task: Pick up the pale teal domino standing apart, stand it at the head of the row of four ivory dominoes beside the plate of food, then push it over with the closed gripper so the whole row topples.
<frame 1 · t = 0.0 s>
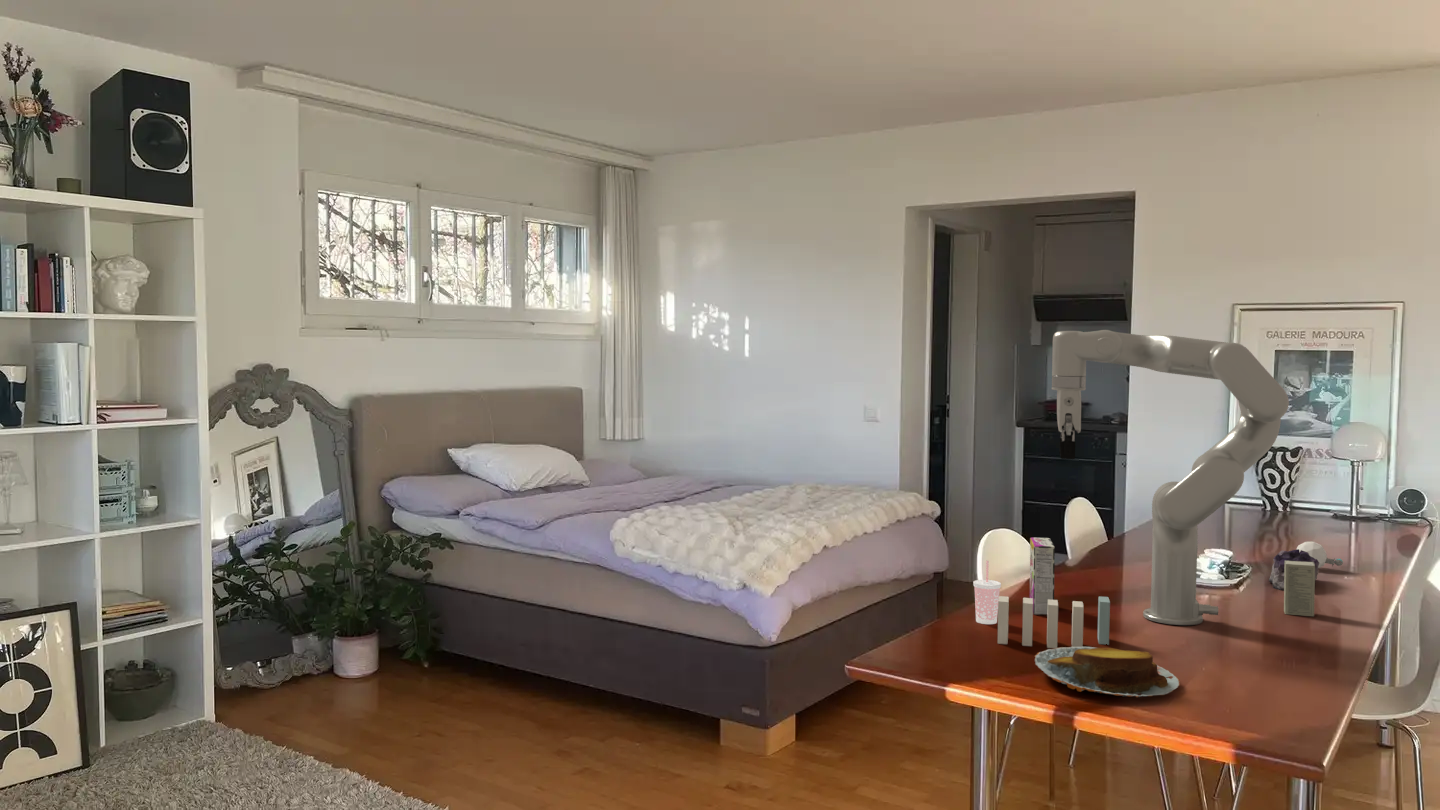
hand: (1067, 456, 248), 37 cm above the table, fingers open, 9 cm apart
domino 1: (1077, 646, 221), on the table
candy bar box: (1041, 610, 252), on the table
domino 3: (1027, 642, 224), on the table
skincare box: (1298, 614, 249), on the table
food on plate: (1104, 683, 199), on the table
domino 2: (1051, 644, 223), on the table
geode: (1292, 585, 280), on the table
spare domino: (1103, 641, 225), on the table
perfume bottle: (1317, 570, 298), on the table
domino 4: (1002, 640, 226), on the table
beverage cup: (986, 622, 241), on the table
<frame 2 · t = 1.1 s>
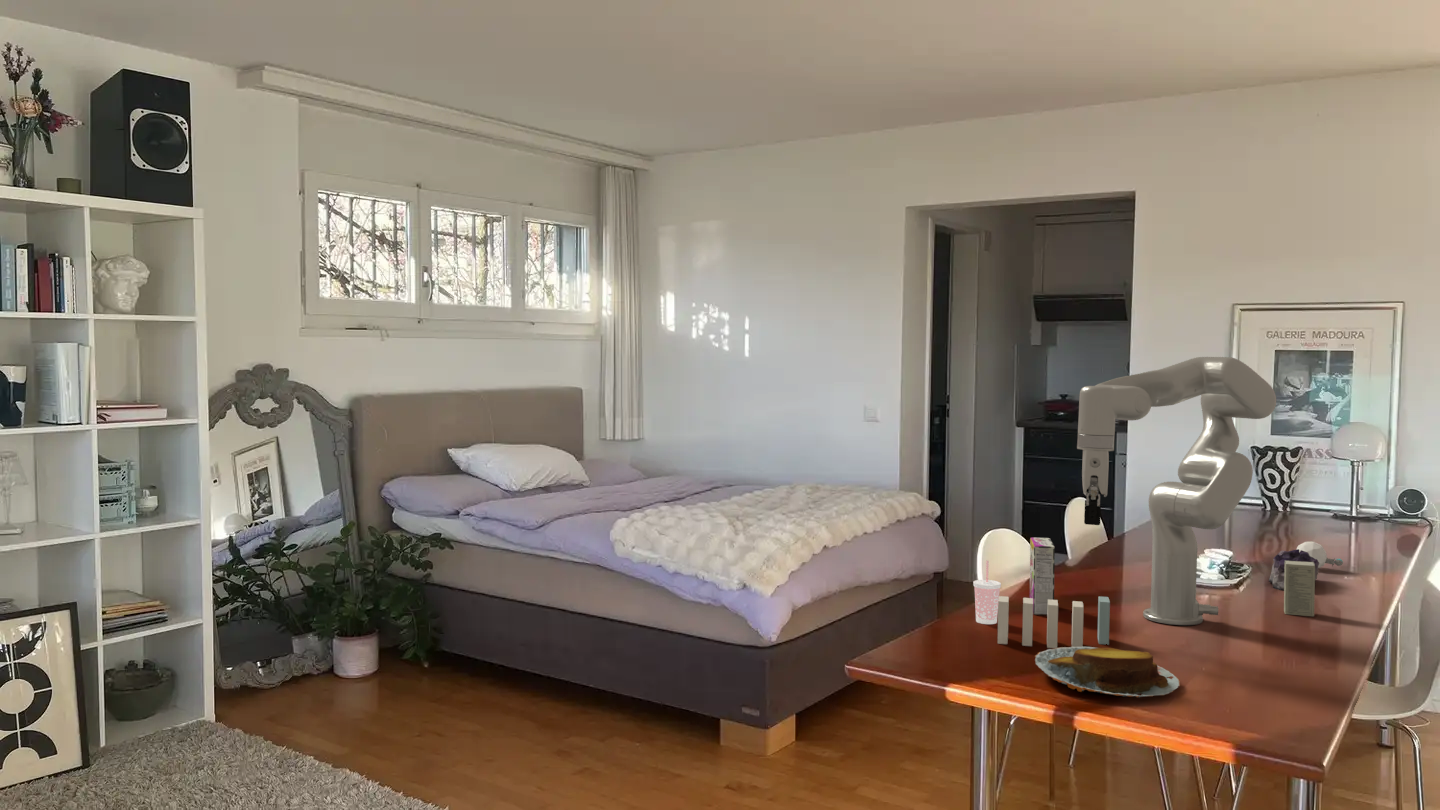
hand: (1091, 521, 230), 25 cm above the table, fingers open, 9 cm apart
nothing on the table moved.
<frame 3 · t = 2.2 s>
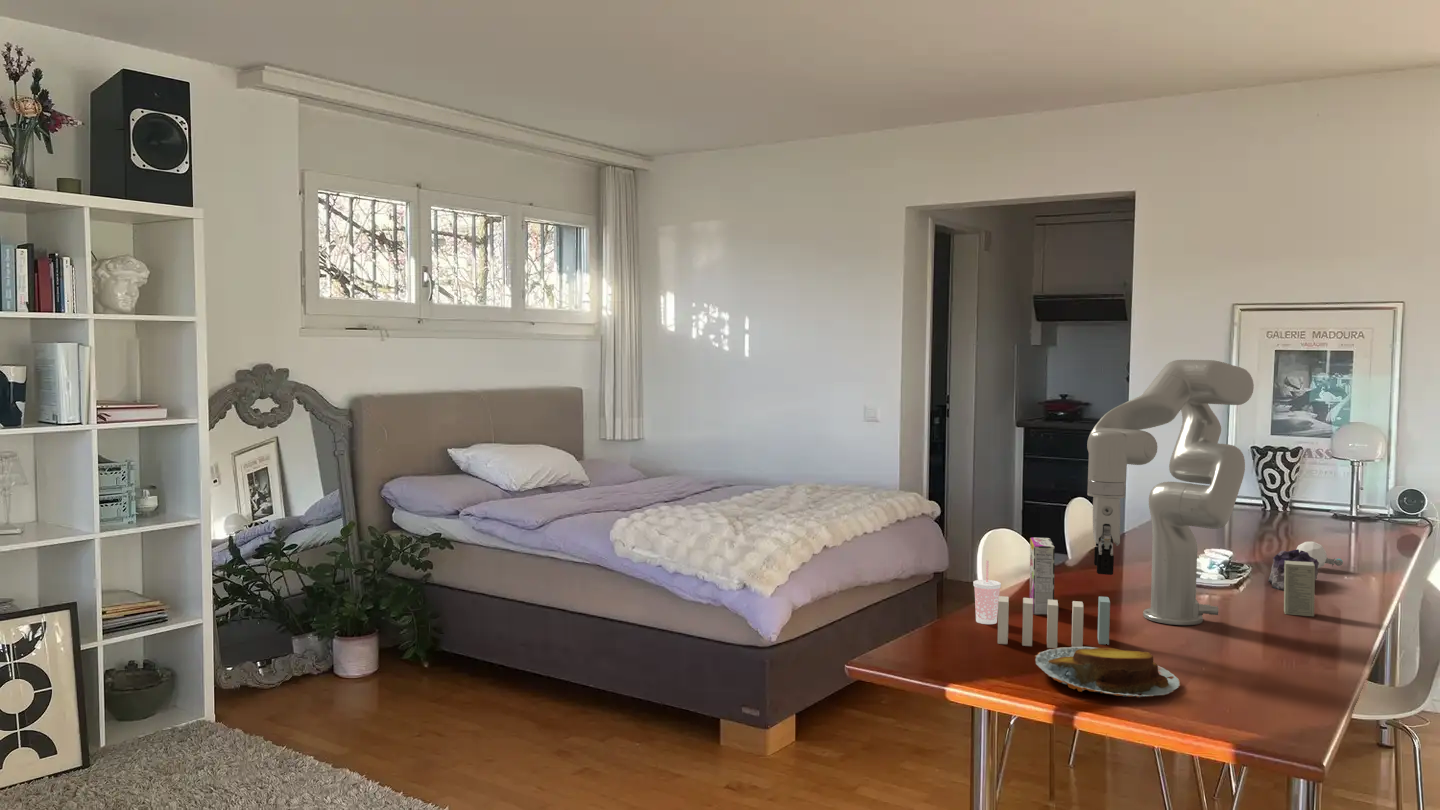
hand: (1103, 569, 224), 15 cm above the table, fingers open, 9 cm apart
nothing on the table moved.
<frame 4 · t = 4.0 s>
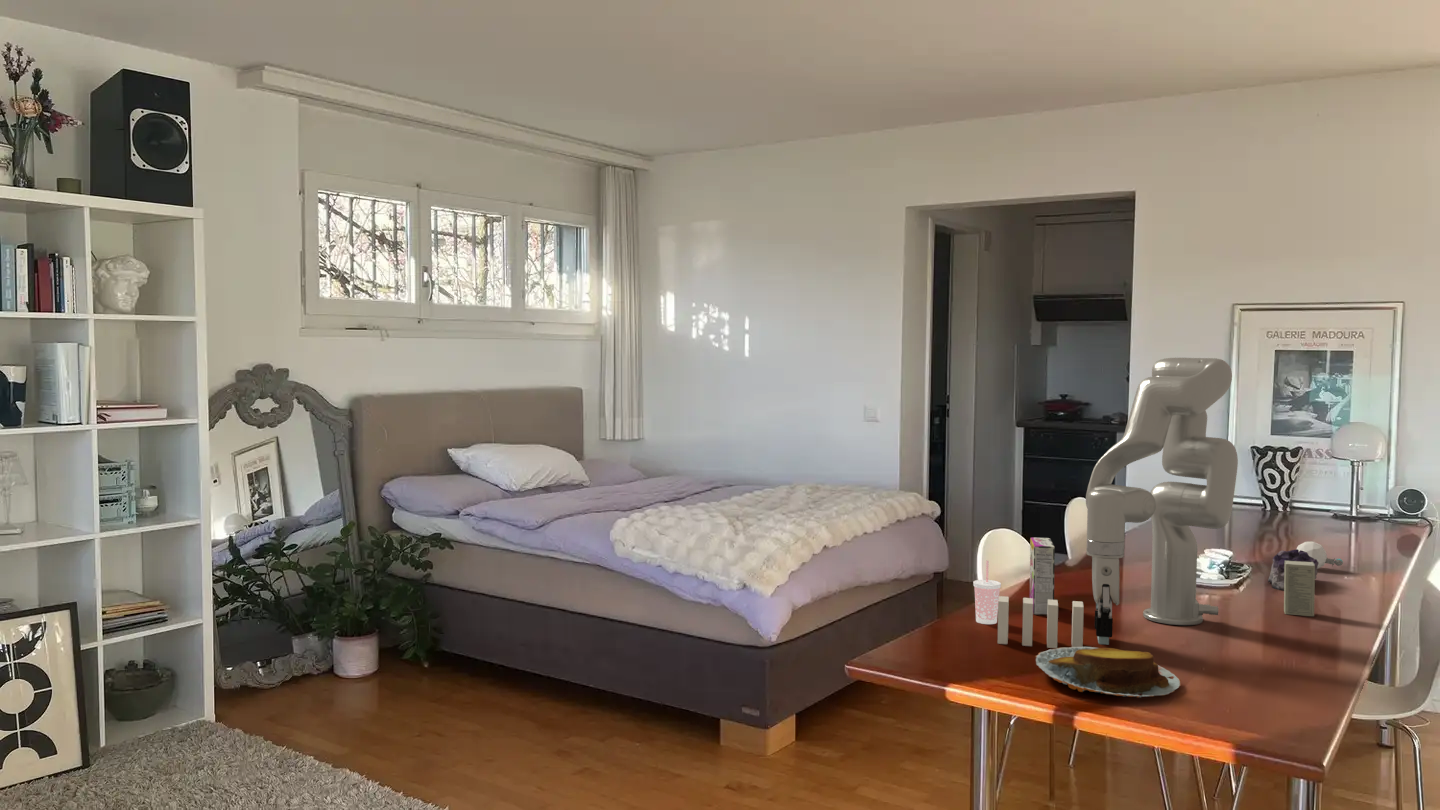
hand: (1103, 632, 225), 2 cm above the table, fingers closed on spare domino, 4 cm apart
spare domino: (1103, 641, 225), on the table, touching gripper
everything else where it was.
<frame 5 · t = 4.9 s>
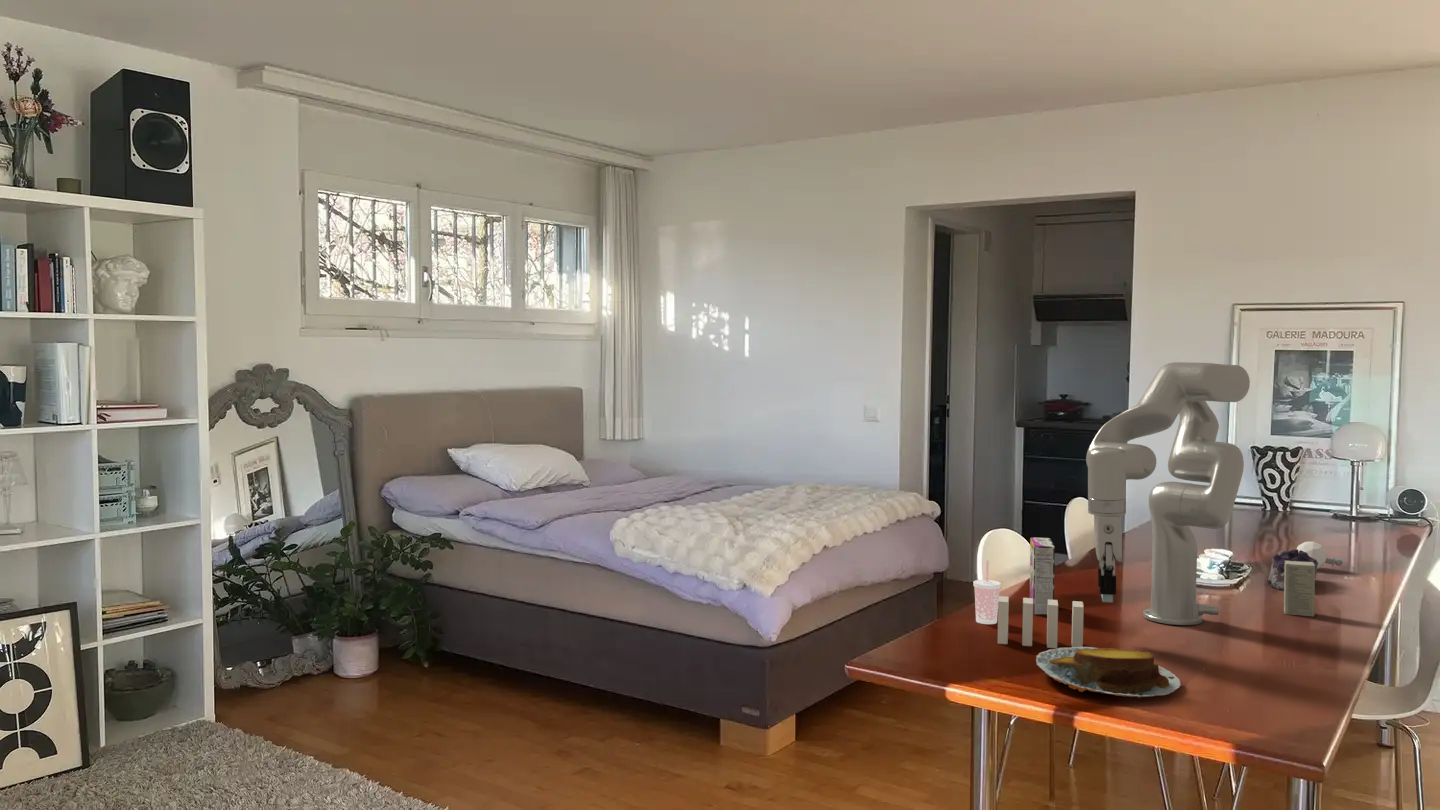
hand: (1107, 589, 226), 11 cm above the table, fingers closed on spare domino, 4 cm apart
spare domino: (1107, 598, 226), point 9 cm above the table, touching gripper
everything else where it was.
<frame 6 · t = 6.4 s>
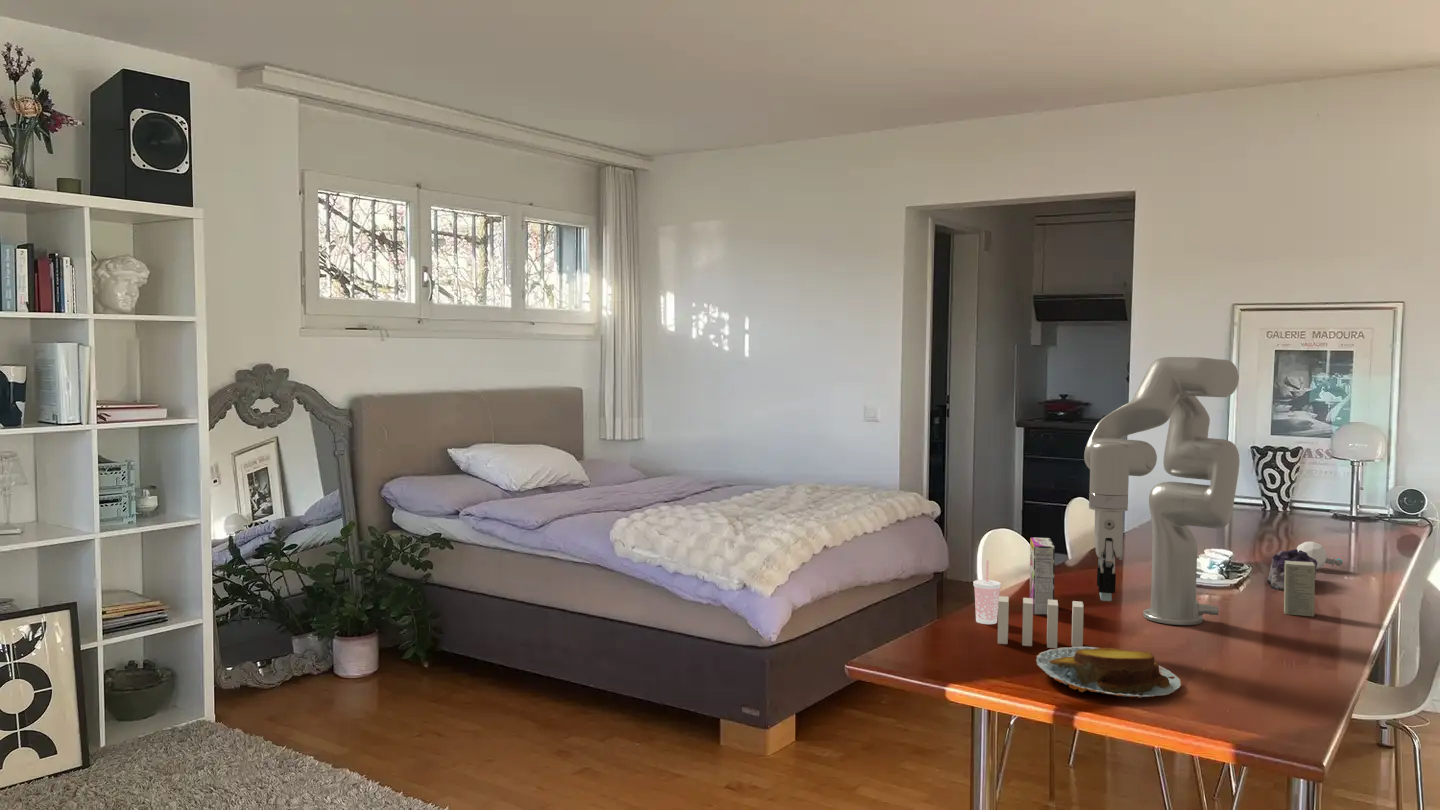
hand: (1105, 588, 219), 13 cm above the table, fingers closed on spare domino, 4 cm apart
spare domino: (1105, 598, 219), point 11 cm above the table, touching gripper
everything else where it was.
when the fingers open (3 cm above the table, at t = 8.4 s): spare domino stays where it is, on the table.
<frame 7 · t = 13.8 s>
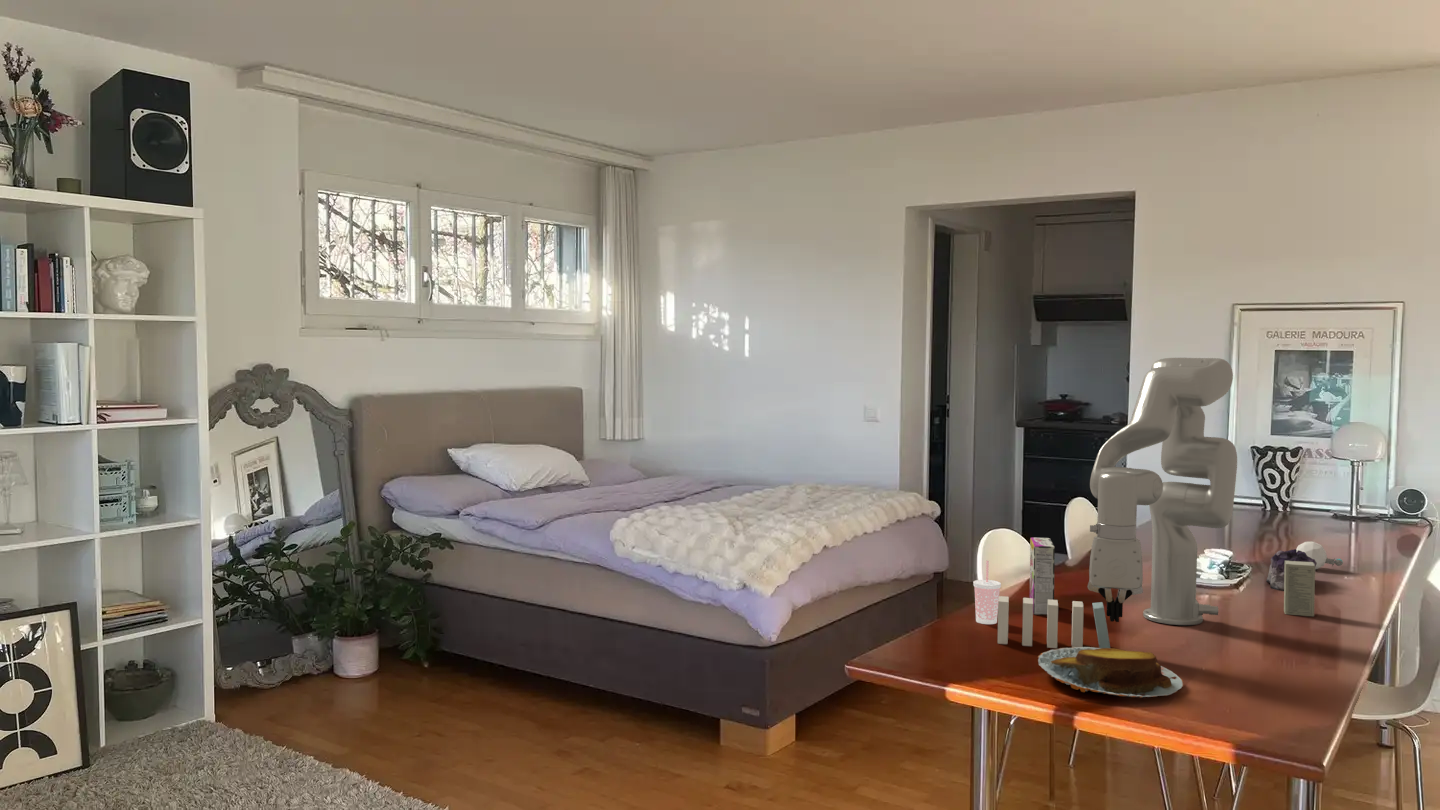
hand: (1114, 620, 219), 6 cm above the table, fingers closed
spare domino: (1104, 648, 220), on the table, tilted 10°
everything else where it was.
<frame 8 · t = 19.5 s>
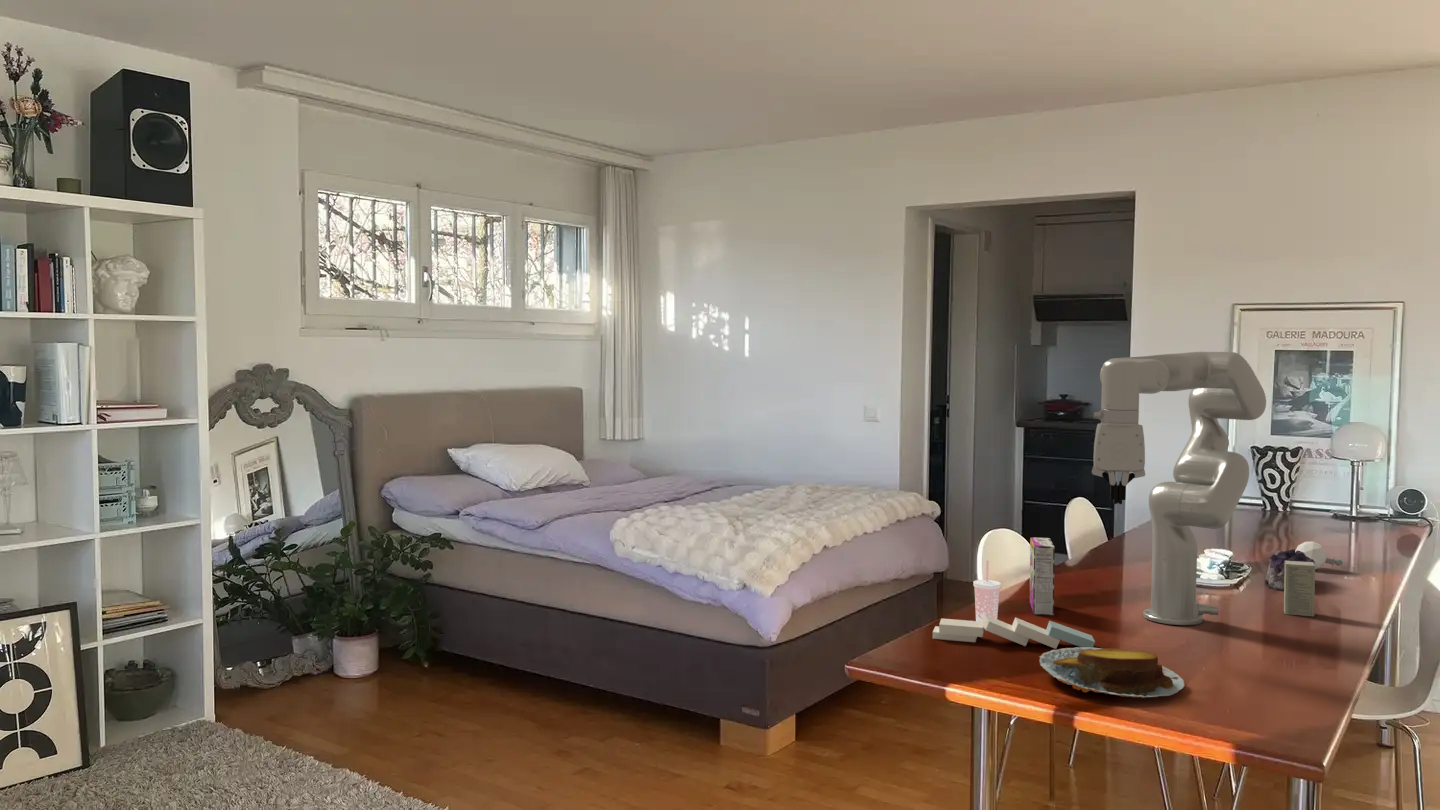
hand: (1117, 503, 227), 29 cm above the table, fingers closed
domino 1: (1056, 641, 222), point 1 cm above the table, tilted 69°, touching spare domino
domino 3: (983, 629, 226), point 2 cm above the table, tilted 90°, touching domino 4
domino 2: (1024, 638, 224), point 1 cm above the table, tilted 68°
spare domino: (1091, 643, 220), point 1 cm above the table, tilted 73°, touching domino 1
domino 4: (976, 637, 227), on the table, tilted 90°, touching domino 3
at the end: domino 4 tilted 90°; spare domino tilted 73°; domino 1 touching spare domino, table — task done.
